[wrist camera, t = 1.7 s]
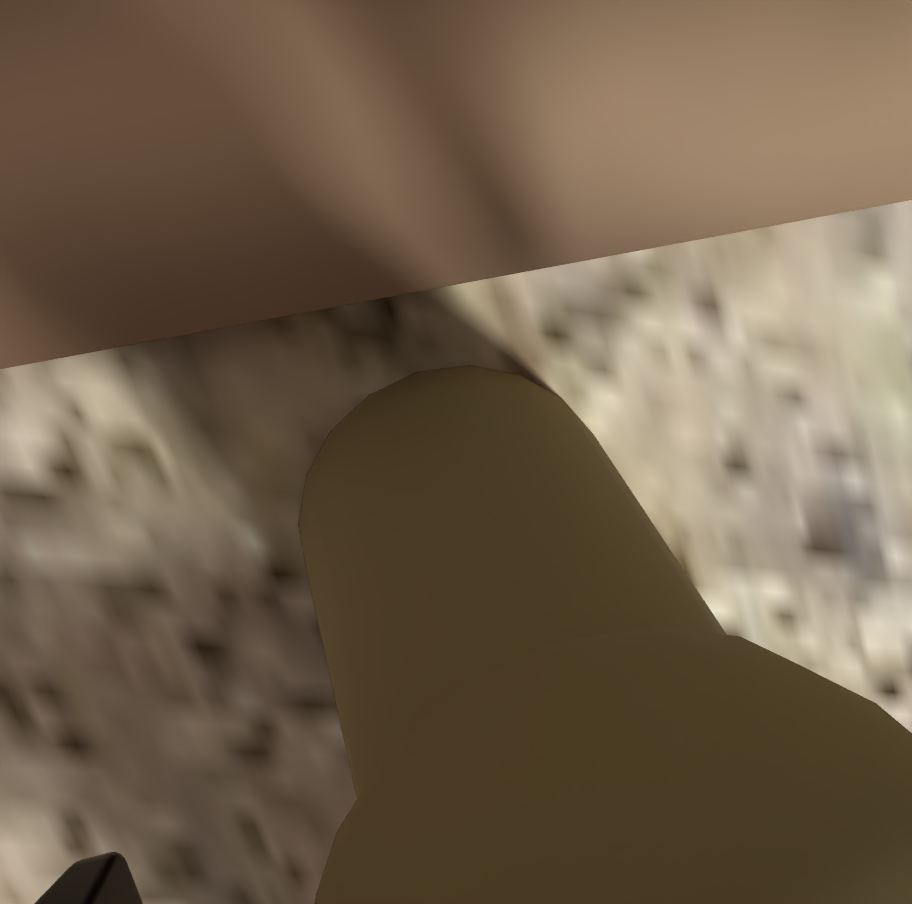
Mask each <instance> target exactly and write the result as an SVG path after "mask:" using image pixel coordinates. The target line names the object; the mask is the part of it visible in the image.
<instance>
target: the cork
mask: <svg viewBox="0 0 912 904" xmlns="http://www.w3.org/2000/svg"><path fill="white" fill-rule="evenodd" d="M298 526H299V531H300V537H301V543H302V548H303V554H304V559H305V565H306V570H307V575H308V580H309V584H310V589H311V593H312V598H313V602H314V607H315V611H316V616H317V620H318V625H319V629H320V634H321V638H322V643H323V647H324V652H325V656H326V661H327V665H328V670H329V674H330V679H331V683H332V688H333V692H334V697H335V701H336V706H337V711H338V715H339V720H340V724H341V729H342V733H343V738H344V742H345V747H346V751H347V756H348V760H349V765H350V769H351V774H352V778H353V783H354V787H355V792H356V796H357V800H356V802H355V804H354V805H353V807H352V808H351V810H350V812H349V813H348V815H347V817H346V818H345V820H344V822H343V823H342V825H341V827H340V828H339V830H338V831H337V834H336V837H335V840H334V843H333V846H332V849H331V852H330V855H329V858H328V861H327V864H326V867H325V870H324V873H323V876H322V879H321V882H320V885H319V888H318V890H317V893H316V898H315V903H314V904H912V733H911V732H909V731H908V730H907V729H906V728H905V727H903V726H902V725H901V724H900V723H899V722H898V721H896V720H895V719H894V718H893V717H892V716H890V715H889V714H888V713H887V712H886V711H884V710H883V709H882V708H881V707H880V706H878V705H877V704H876V703H874V702H872V701H870V700H868V699H866V698H864V697H862V696H860V695H858V694H856V693H854V692H852V691H850V690H848V689H846V688H844V687H842V686H840V685H838V684H836V683H834V682H832V681H830V680H828V679H826V678H824V677H822V676H820V675H818V674H816V673H814V672H812V671H810V670H808V669H806V668H804V667H802V666H800V665H798V664H796V663H794V662H792V661H790V660H788V659H786V658H784V657H782V656H779V655H777V654H775V653H773V652H771V651H769V650H767V649H765V648H763V647H761V646H759V645H757V644H754V643H752V642H750V641H748V640H746V639H744V638H742V637H738V636H730V635H726V633H725V632H724V630H723V629H722V627H721V626H720V624H719V623H718V621H717V620H716V618H715V616H714V615H713V613H712V612H711V610H710V609H709V607H708V606H707V604H706V603H705V601H704V600H703V598H702V597H701V595H700V594H699V592H698V591H697V589H696V588H695V586H694V585H693V583H692V582H691V580H690V579H689V577H688V576H687V574H686V573H685V571H684V570H683V568H682V567H681V565H680V564H679V562H678V561H677V559H676V558H675V556H674V555H673V553H672V552H671V550H670V549H669V547H668V546H667V544H666V543H665V541H664V540H663V538H662V537H661V535H660V534H659V532H658V531H657V529H656V528H655V526H654V525H653V523H652V522H651V520H650V519H649V517H648V516H647V514H646V513H645V511H644V510H643V508H642V507H641V505H640V504H639V502H638V501H637V499H636V498H635V496H634V495H633V493H632V492H631V490H630V489H629V487H628V486H627V484H626V483H625V481H624V480H623V478H622V477H621V475H620V474H619V472H618V471H617V469H616V468H615V466H614V465H613V463H612V462H611V460H610V459H609V457H608V456H607V454H606V453H605V451H604V450H603V448H602V447H601V445H600V444H599V442H598V441H597V439H596V438H595V436H594V435H593V433H592V432H591V431H590V430H589V429H588V428H587V426H586V425H585V424H584V423H583V422H582V421H581V420H580V418H579V417H578V416H577V415H576V414H575V413H574V412H573V410H572V409H571V408H570V407H569V406H568V405H567V404H566V402H565V401H564V400H563V399H562V398H560V397H558V396H556V395H555V394H553V393H551V392H549V391H547V390H546V389H544V388H542V387H540V386H539V385H537V384H535V383H533V382H532V381H530V380H528V379H526V378H524V377H523V376H521V375H518V374H512V373H507V372H502V371H496V370H491V369H486V368H480V367H475V366H470V365H469V366H462V367H454V368H447V369H439V370H431V371H424V372H417V373H415V374H413V375H411V376H409V377H406V378H404V379H402V380H400V381H398V382H396V383H394V384H392V385H390V386H387V387H385V388H383V389H381V390H379V391H377V392H375V393H373V394H370V395H369V396H368V397H367V398H366V399H364V400H363V401H362V402H361V403H360V404H359V405H358V406H357V407H356V408H355V409H354V410H353V411H352V412H351V413H350V414H348V415H347V416H346V417H345V418H344V419H343V420H342V421H341V422H340V423H339V424H338V425H337V426H336V427H335V428H334V429H332V430H331V432H330V433H329V435H328V437H327V439H326V441H325V443H324V444H323V446H322V448H321V450H320V452H319V454H318V455H317V457H316V459H315V461H314V463H313V465H312V467H311V468H310V470H309V472H308V474H307V476H306V481H305V487H304V493H303V499H302V505H301V511H300V517H299V523H298Z"/></svg>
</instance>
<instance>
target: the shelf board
mask: <svg viewBox="0 0 912 904" xmlns="http://www.w3.org/2000/svg"><path fill="white" fill-rule="evenodd" d="M908 200H912V0H0V369H3V368H9V367H14V366H19V365H25V364H30V363H36V362H41V361H46V360H52V359H57V358H63V357H68V356H73V355H79V354H84V353H89V352H95V351H100V350H106V349H111V348H116V347H122V346H127V345H133V344H138V343H143V342H149V341H154V340H159V339H165V338H170V337H176V336H181V335H186V334H192V333H197V332H202V331H208V330H213V329H219V328H224V327H229V326H235V325H240V324H246V323H251V322H256V321H262V320H267V319H272V318H278V317H283V316H289V315H294V314H299V313H305V312H310V311H316V310H321V309H326V308H332V307H337V306H342V305H348V304H353V303H359V302H364V301H369V300H375V299H380V298H386V297H391V296H396V295H402V294H407V293H412V292H418V291H423V290H429V289H434V288H439V287H445V286H450V285H456V284H461V283H466V282H472V281H477V280H482V279H488V278H493V277H499V276H504V275H509V274H515V273H520V272H526V271H531V270H536V269H542V268H547V267H552V266H558V265H563V264H569V263H574V262H579V261H585V260H590V259H596V258H601V257H606V256H612V255H617V254H622V253H628V252H633V251H639V250H644V249H649V248H655V247H660V246H665V245H671V244H676V243H682V242H687V241H692V240H698V239H703V238H709V237H714V236H719V235H725V234H730V233H735V232H741V231H746V230H752V229H757V228H762V227H768V226H773V225H779V224H784V223H789V222H795V221H800V220H805V219H811V218H816V217H822V216H827V215H832V214H838V213H843V212H849V211H854V210H859V209H865V208H870V207H875V206H881V205H886V204H892V203H897V202H902V201H908Z"/></svg>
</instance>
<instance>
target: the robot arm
mask: <svg viewBox="0 0 912 904" xmlns="http://www.w3.org/2000/svg"><path fill="white" fill-rule="evenodd" d="M35 904H143V903H142V901H141V898H140V895H139V893H138V890H137V887H136V885H135V882H134V880H133V877H132V874H131V872H130V869H129V867H128V864H127V862H126V860H125V858H124V857H123V856H122V855H121V854H119V853H116V852H110V853H106V854H102V855H98V856H94V857H90V858H86V859H82V860H80V861H77V862H76V863H74V864H73V865H72V866H71V867H69V868H68V869H67V870H66V871H65V872H64V873H63V874H62V876H61V877H60V878H59V879H58V880H57V881H56V882H55V883H54V884H53V885H52V886H51V887H50V888H49V889H48V890H47V891H46V892H45V893H44V894H43V895H42V896H41V897H40V898H39V899H38V900H37V901H36V903H35Z"/></svg>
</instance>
